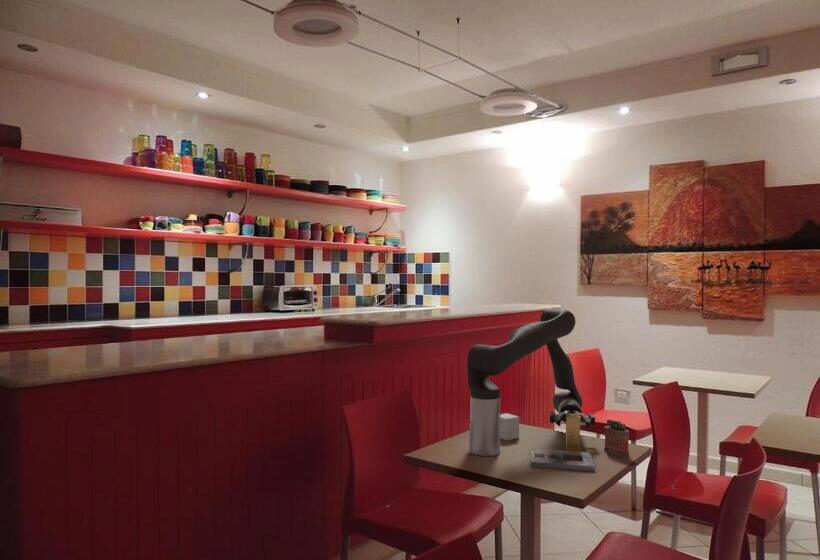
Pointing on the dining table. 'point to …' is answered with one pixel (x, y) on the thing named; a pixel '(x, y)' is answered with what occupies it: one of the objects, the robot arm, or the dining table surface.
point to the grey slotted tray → (562, 460)
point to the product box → (509, 426)
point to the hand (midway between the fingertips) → (573, 424)
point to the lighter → (616, 438)
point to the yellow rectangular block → (573, 432)
